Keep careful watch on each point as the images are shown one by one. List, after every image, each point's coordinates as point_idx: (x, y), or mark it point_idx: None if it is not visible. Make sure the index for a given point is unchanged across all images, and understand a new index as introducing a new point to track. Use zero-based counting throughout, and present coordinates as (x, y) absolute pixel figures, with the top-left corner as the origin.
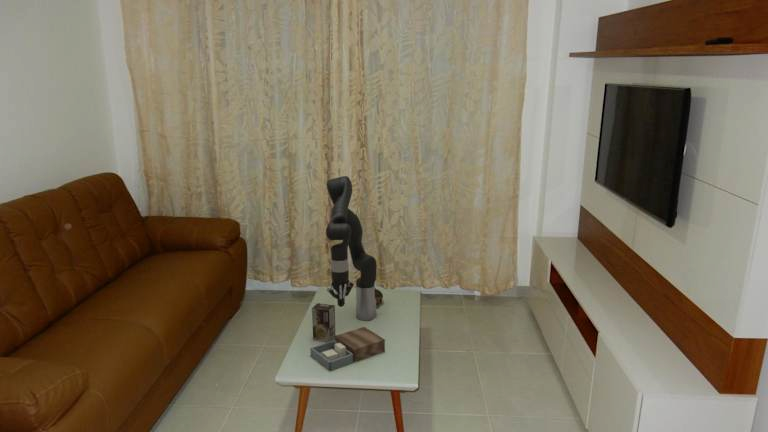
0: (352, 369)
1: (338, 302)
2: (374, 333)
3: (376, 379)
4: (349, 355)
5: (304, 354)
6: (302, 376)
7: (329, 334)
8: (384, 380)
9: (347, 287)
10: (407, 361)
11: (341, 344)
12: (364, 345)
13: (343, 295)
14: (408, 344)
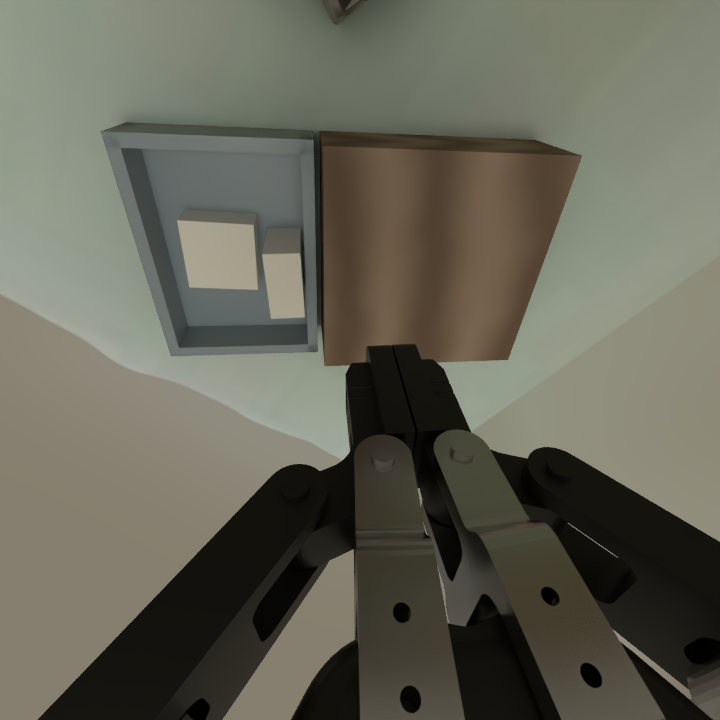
0: (281, 363)
1: (348, 418)
2: (533, 282)
3: (317, 442)
4: (293, 351)
5: (86, 61)
6: (32, 299)
7: (336, 12)
8: (335, 454)
9: (685, 623)
10: (477, 411)
11: (298, 280)
12: None
13: (442, 545)
14: (597, 326)
